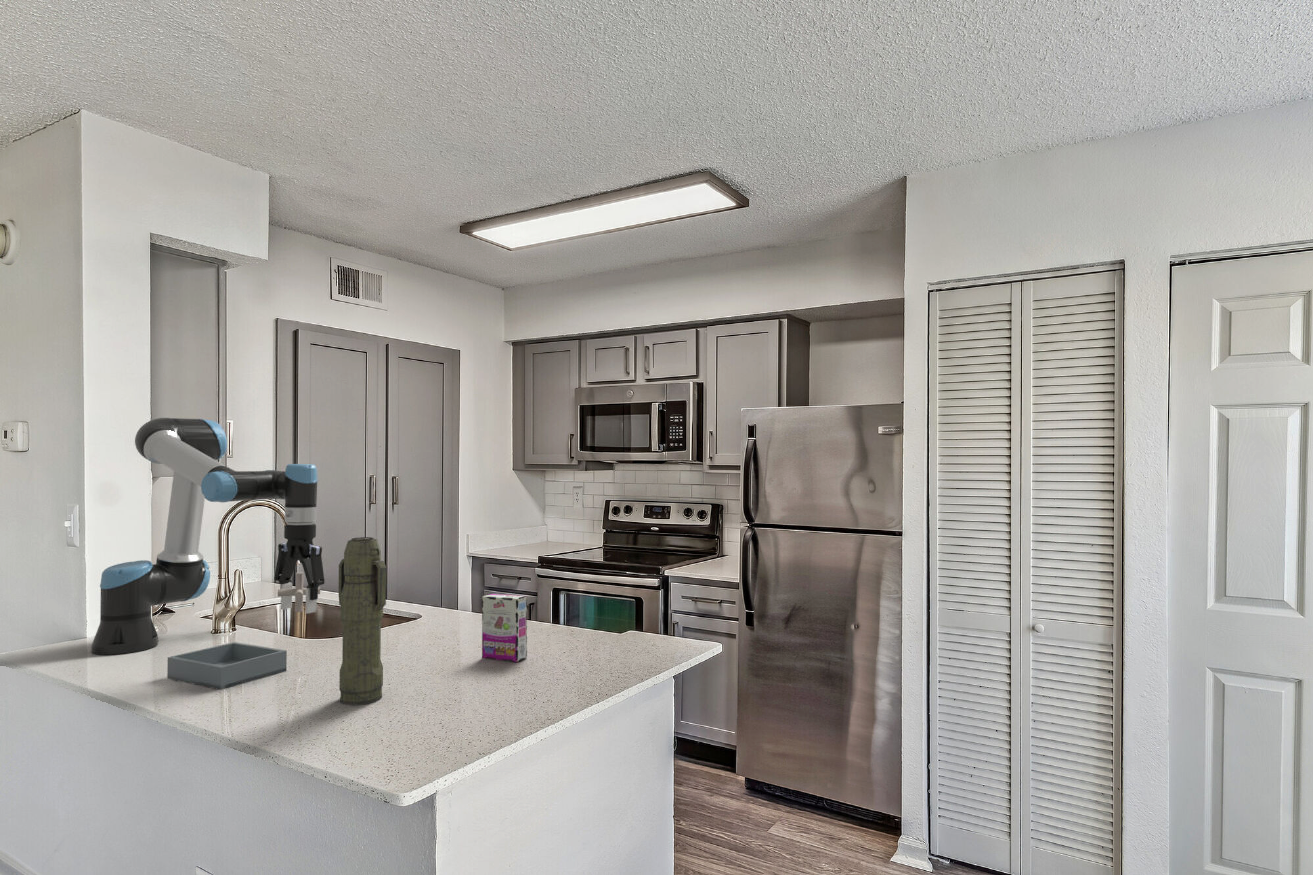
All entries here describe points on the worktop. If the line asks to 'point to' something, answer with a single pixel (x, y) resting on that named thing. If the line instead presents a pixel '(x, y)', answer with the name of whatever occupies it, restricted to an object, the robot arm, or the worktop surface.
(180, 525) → the robot arm
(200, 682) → the bin
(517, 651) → the candy bar box
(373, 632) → the thermos
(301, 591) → the pipe connector
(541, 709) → the worktop surface
